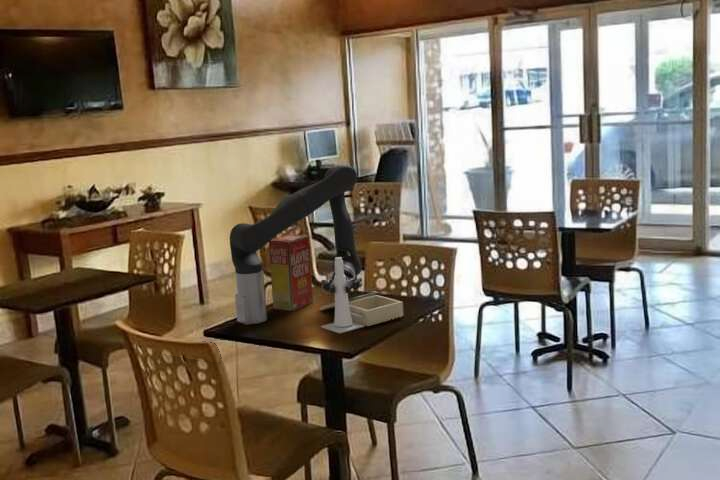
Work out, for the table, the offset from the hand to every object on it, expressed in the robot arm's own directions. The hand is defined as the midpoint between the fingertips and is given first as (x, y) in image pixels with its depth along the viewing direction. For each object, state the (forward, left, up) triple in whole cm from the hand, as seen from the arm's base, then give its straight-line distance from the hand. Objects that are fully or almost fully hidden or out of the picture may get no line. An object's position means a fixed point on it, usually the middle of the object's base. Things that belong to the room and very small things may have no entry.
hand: (340, 290), depth 246 cm
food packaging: (+5, +37, -13) cm, 40 cm away
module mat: (+2, +2, -13) cm, 13 cm away
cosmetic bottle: (+2, +2, -12) cm, 13 cm away
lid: (+15, +18, -9) cm, 26 cm away
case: (+15, +4, -13) cm, 20 cm away
